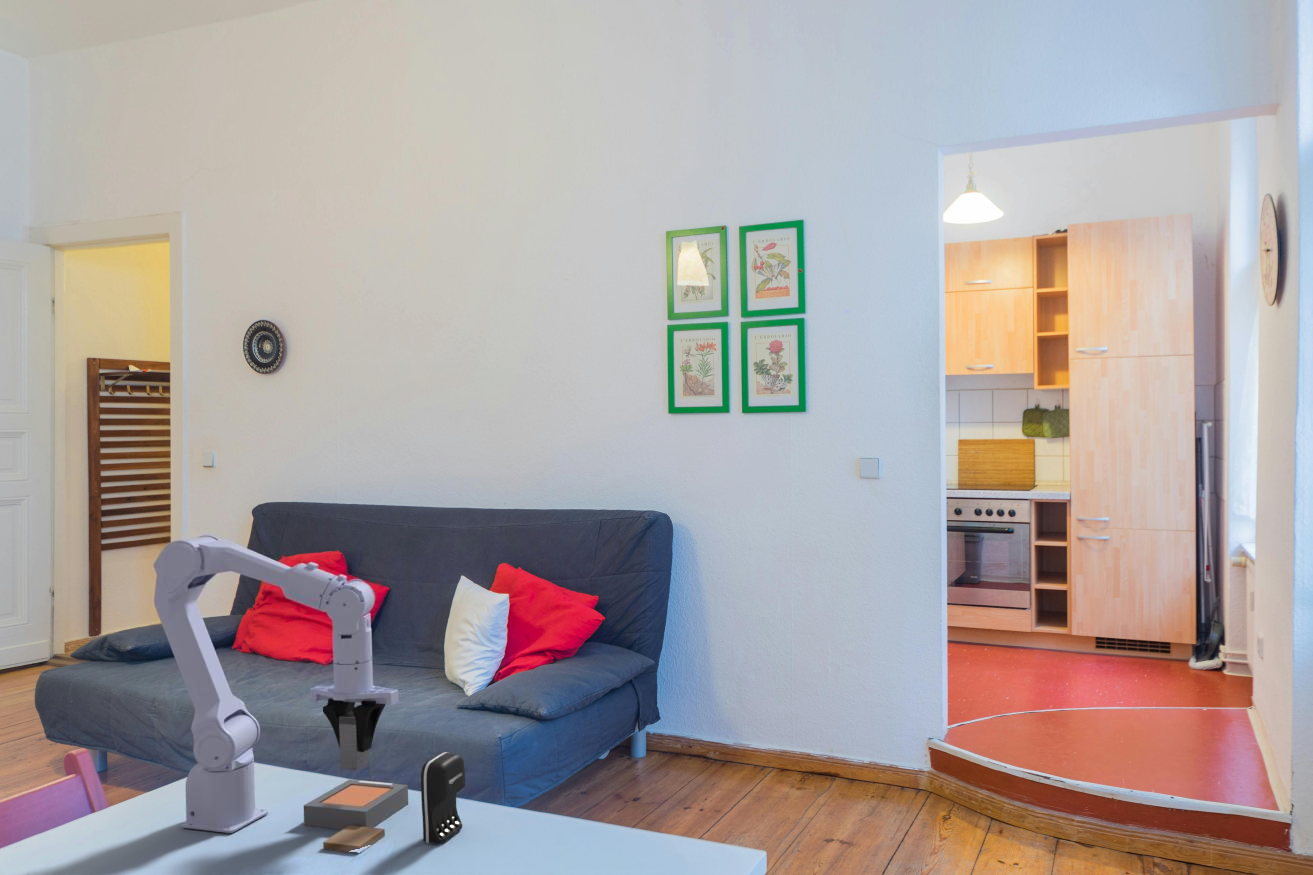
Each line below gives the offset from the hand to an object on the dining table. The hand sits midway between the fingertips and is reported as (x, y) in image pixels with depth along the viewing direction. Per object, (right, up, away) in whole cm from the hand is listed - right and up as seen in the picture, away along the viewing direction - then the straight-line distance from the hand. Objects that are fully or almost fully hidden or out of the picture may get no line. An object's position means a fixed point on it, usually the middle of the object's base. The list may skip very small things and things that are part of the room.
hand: (355, 748), depth 141 cm
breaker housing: (0, -10, +1) cm, 10 cm away
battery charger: (+16, -10, -8) cm, 21 cm away
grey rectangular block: (0, -3, 0) cm, 3 cm away
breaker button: (0, -10, +1) cm, 10 cm away
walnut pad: (+3, -10, -9) cm, 14 cm away
